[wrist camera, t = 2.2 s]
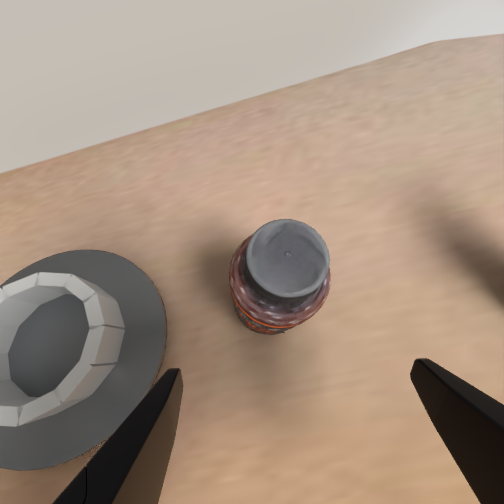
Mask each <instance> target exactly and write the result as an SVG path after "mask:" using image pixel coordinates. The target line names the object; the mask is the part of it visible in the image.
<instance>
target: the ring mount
mask: <svg viewBox="0 0 504 504" xmlns="http://www.w3.org/2000/svg"><path fill="white" fill-rule="evenodd" d="M166 339H167V319H166V312H165V308H164V304H163V301H162V298H161V296H160V294H159V291H158V289H157V288H156V286H155V285H154V283H153V282H152V280H151V279H150V278H149V277H148V276H147V275H146V274H145V273H144V272H143V271H142V270H141V269H139V268H138V267H137V266H136V265H134V264H133V263H132V262H130V261H128V260H127V259H125V258H123V257H121V256H118V255H116V254H113V253H109V252H105V251H98V250H75V251H68V252H64V253H59V254H56V255H53V256H50V257H47V258H44V259H42V260H40V261H37V262H35V263H33V264H31V265H29V266H28V267H26V268H24V269H22V270H21V271H19V272H18V273H16V274H15V275H13V276H12V277H11V278H9V279H8V280H7V281H6V282H4V283H3V284H2V285H1V286H0V468H4V469H11V470H37V469H43V468H48V467H52V466H55V465H58V464H61V463H64V462H67V461H69V460H71V459H73V458H75V457H77V456H80V455H82V454H83V453H85V452H87V451H88V450H90V449H92V448H93V447H95V446H96V445H98V444H99V443H101V442H103V441H104V440H106V439H107V438H108V437H109V436H111V435H112V434H113V433H114V432H115V431H116V429H117V428H118V427H119V426H120V425H121V424H122V422H123V421H124V420H125V419H126V418H127V417H128V415H129V414H130V413H131V412H132V411H133V410H134V408H135V407H136V406H137V405H138V404H139V403H140V401H141V400H142V399H143V398H144V397H145V396H146V394H147V393H148V392H149V391H150V389H151V387H152V385H153V383H154V381H155V379H156V377H157V375H158V372H159V369H160V366H161V364H162V360H163V356H164V352H165V348H166Z"/></svg>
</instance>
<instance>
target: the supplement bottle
mask: <svg viewBox="0 0 504 504" xmlns="http://www.w3.org/2000/svg"><path fill="white" fill-rule="evenodd" d="M329 264H330V258H329V251H328V249H327V246H326V243H325V242H324V240H323V239H322V237H321V236H320V235H319V234H318V233H317V231H316V230H315V229H313V228H312V227H310V226H309V225H307V224H305V223H303V222H299V221H296V220H292V219H280V220H274V221H271V222H269V223H267V224H265V225H263V226H261V227H260V228H259V229H258V230H257V231H256V232H255V233H254V234H252V235H251V236H249V237H248V238H247V239H246V240H244V241H243V242H242V243H241V245H240V246H239V247H238V248H237V250H236V252H235V254H234V256H233V258H232V261H231V266H230V272H229V281H230V287H231V292H232V297H233V300H234V305H235V309H236V312H237V314H238V316H239V318H240V319H241V321H242V322H243V323H244V324H245V325H246V326H247V327H248V328H250V329H251V330H253V331H255V332H257V333H261V334H268V335H273V334H279V333H282V332H283V333H285V332H284V331H286V330H288V329H291V328H293V327H295V326H296V325H299V324H301V323H303V322H304V321H306V320H308V319H309V318H311V317H312V316H313V315H314V314H315V313H316V312H317V311H318V310H319V309H320V308H321V307H322V305H323V304H324V302H325V300H326V298H327V296H328V292H329V289H330V282H331V274H330V268H329Z"/></svg>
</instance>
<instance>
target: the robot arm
mask: <svg viewBox="0 0 504 504" xmlns="http://www.w3.org/2000/svg"><path fill="white" fill-rule="evenodd" d="M410 377H411V381H412V383H413V385H414V387H415V389H416V391H417V393H418V395H419V397H420V399H421V401H422V403H423V405H424V407H425V409H426V411H427V413H428V415H429V417H430V419H431V421H432V423H433V425H434V426H435V428H436V430H437V432H438V433H439V435H440V437H441V438H442V440H443V442H444V443H445V445H446V447H447V448H448V450H449V452H450V453H451V455H452V457H453V458H454V460H455V462H456V463H457V465H458V467H459V468H460V470H461V472H462V473H463V475H464V477H465V478H466V480H467V482H468V483H469V485H470V487H471V488H472V490H473V492H474V493H475V495H476V497H477V498H478V500H479V502H480V503H481V504H504V405H503V404H501V403H500V402H498V401H497V400H495V399H493V398H492V397H490V396H488V395H487V394H485V393H483V392H482V391H480V390H479V389H477V388H475V387H474V386H472V385H470V384H469V383H467V382H466V381H464V380H462V379H461V378H459V377H457V376H456V375H454V374H452V373H451V372H449V371H448V370H446V369H444V368H443V367H441V366H439V365H438V364H436V363H435V362H433V361H431V360H429V359H427V358H419V359H416V360H415V361H414V364H413V367H412V370H411V373H410ZM182 392H183V381H182V375H181V370H180V369H179V368H170V369H168V370H167V371H166V372H165V373H164V375H163V376H162V377H161V378H160V379H159V380H158V382H157V383H156V384H155V385H154V386H153V387H152V389H151V390H150V391H149V392H148V393H147V394H146V396H145V397H144V398H143V399H142V400H141V401H140V403H139V404H138V405H137V406H136V407H135V408H134V410H133V411H132V412H131V413H130V414H129V415H128V417H127V418H126V419H125V420H124V421H123V422H122V424H121V425H120V426H119V427H118V428H117V429H116V431H115V432H114V433H113V434H112V435H111V436H110V438H109V439H108V440H107V441H106V442H105V443H104V445H103V446H102V447H101V448H100V449H99V450H98V452H97V453H96V454H95V455H94V456H93V457H92V459H91V460H90V461H89V462H88V463H87V467H84V468H83V469H82V470H81V471H80V472H79V474H78V475H77V476H76V477H75V478H74V479H73V481H72V482H71V483H70V484H69V485H68V486H67V487H66V489H65V490H64V491H63V492H62V493H61V494H60V495H59V496H58V498H57V499H56V500H55V501H54V502H53V503H52V504H158V501H159V498H160V494H161V490H162V486H163V482H164V478H165V475H166V471H167V467H168V463H169V459H170V455H171V452H172V448H173V444H174V440H175V435H176V429H177V423H178V417H179V411H180V405H181V398H182Z"/></svg>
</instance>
